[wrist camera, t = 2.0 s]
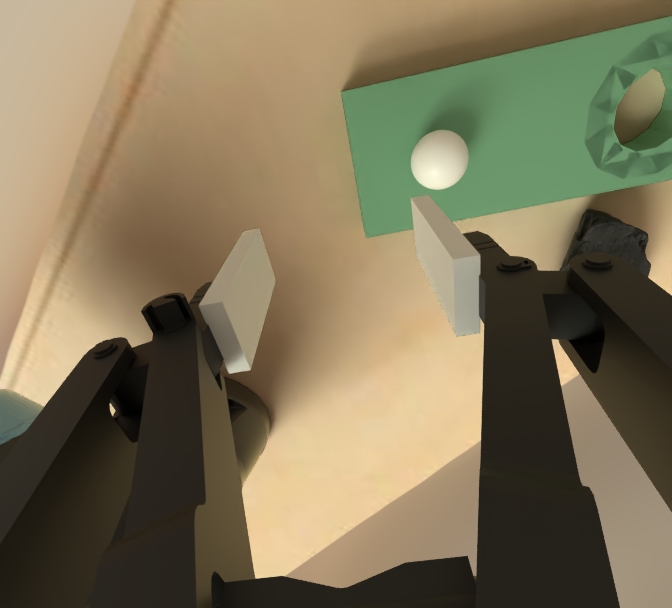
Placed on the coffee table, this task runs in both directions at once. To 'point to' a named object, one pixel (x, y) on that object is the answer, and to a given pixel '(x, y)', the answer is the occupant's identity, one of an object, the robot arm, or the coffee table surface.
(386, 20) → the coffee table surface
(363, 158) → the green
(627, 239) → the mineral
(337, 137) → the coffee table surface
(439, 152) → the ball
